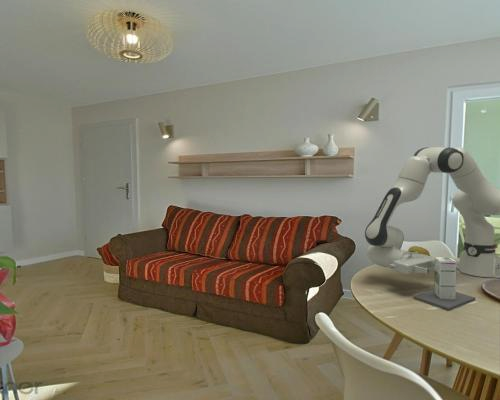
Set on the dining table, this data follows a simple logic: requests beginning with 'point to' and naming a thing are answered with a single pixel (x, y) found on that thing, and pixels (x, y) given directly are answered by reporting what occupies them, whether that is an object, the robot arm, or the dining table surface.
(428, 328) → the dining table surface
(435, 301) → the placemat
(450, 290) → the syrup box
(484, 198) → the robot arm
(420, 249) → the fruit
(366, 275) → the dining table surface
